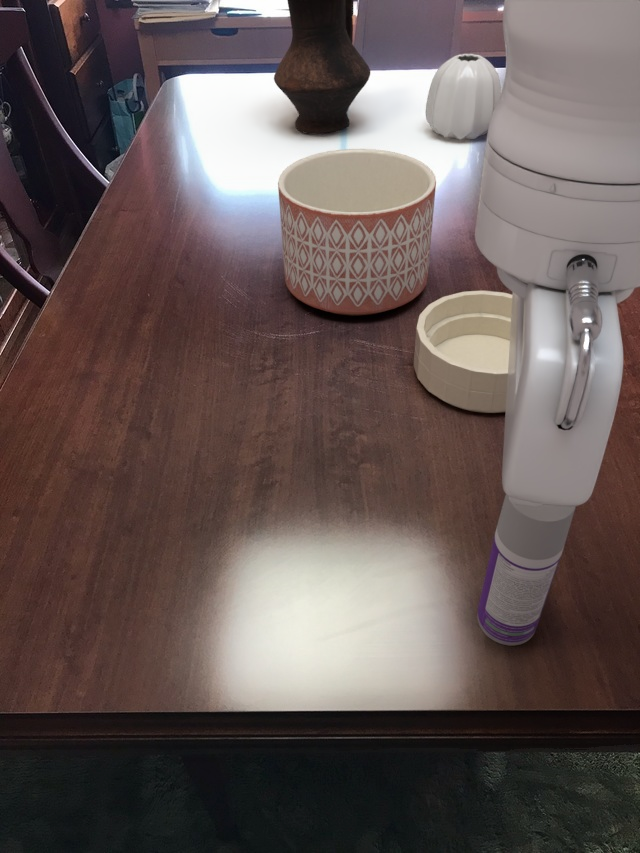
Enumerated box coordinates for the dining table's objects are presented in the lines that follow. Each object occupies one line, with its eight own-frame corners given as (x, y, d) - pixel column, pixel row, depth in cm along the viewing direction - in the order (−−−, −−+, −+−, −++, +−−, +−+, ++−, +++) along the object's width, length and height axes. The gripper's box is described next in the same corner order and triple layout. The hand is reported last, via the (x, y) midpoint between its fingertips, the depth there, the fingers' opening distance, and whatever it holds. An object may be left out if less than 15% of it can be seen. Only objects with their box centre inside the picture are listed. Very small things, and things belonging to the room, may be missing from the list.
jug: (346, 150, 129) (346, -41, 109) (260, 137, 135) (245, -46, 115) (387, 114, 143) (394, -62, 123) (307, 103, 149) (301, -65, 129)
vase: (419, 142, 131) (424, 66, 122) (432, 118, 140) (437, 45, 131) (492, 149, 127) (503, 70, 118) (500, 123, 137) (511, 48, 128)
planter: (256, 294, 93) (245, 187, 83) (340, 238, 104) (339, 138, 94) (375, 342, 84) (378, 229, 74) (452, 275, 95) (465, 169, 85)
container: (492, 585, 58) (522, 459, 48) (545, 612, 56) (589, 487, 46) (466, 626, 55) (493, 502, 45) (522, 656, 53) (562, 534, 43)
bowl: (552, 340, 83) (562, 298, 79) (553, 426, 72) (565, 381, 68) (422, 326, 86) (426, 284, 82) (404, 406, 75) (407, 362, 71)
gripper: (694, 355, 22) (593, 596, 32) (634, 130, 37) (577, 341, 46) (495, 334, 24) (455, 573, 33) (513, 124, 38) (482, 331, 47)
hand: (526, 435), depth 40 cm, fingers open, 8 cm apart
